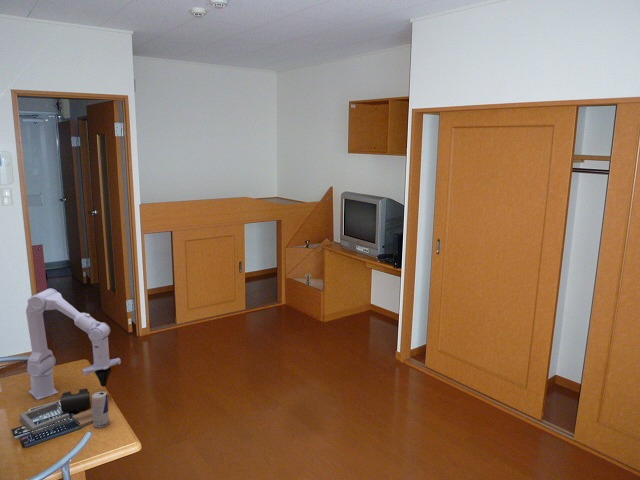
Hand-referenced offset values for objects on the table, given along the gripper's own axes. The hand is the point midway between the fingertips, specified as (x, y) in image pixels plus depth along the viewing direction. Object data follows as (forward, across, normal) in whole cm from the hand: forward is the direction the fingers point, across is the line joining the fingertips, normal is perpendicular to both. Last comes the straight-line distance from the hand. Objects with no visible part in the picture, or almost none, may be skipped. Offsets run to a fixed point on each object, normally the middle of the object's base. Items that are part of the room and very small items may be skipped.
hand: (103, 385), depth 199 cm
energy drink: (+6, -9, -17) cm, 20 cm away
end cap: (+6, -11, 0) cm, 13 cm away
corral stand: (+6, -22, 0) cm, 23 cm away
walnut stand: (+6, -11, -10) cm, 16 cm away
